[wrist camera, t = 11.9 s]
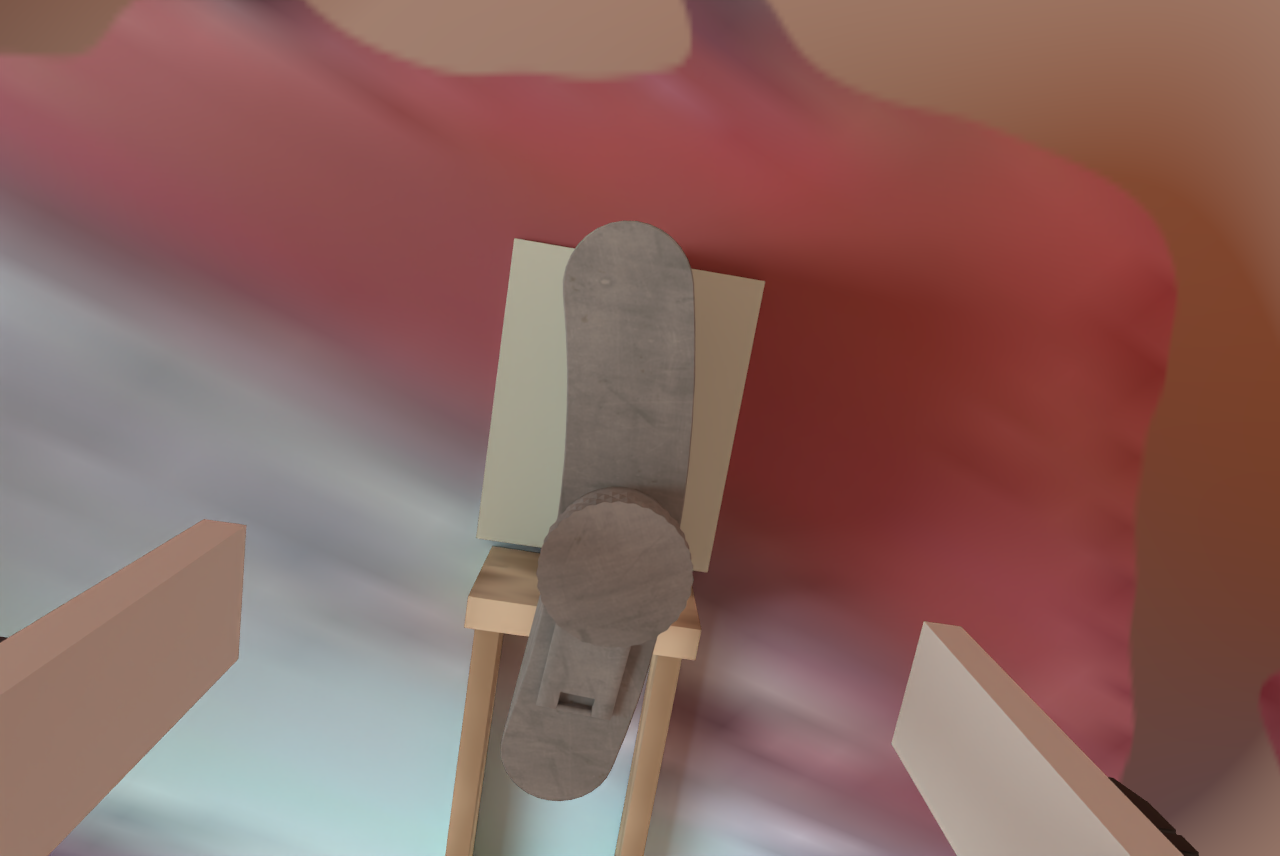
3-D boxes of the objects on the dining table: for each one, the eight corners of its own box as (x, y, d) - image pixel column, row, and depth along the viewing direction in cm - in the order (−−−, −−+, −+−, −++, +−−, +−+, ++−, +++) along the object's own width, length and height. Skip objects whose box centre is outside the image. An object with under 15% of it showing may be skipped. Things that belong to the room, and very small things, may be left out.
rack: (445, 900, 42) (416, 1001, 37) (492, 546, 38) (467, 596, 32) (622, 922, 43) (622, 1024, 37) (689, 575, 39) (701, 630, 33)
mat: (478, 534, 38) (476, 538, 37) (515, 238, 35) (514, 238, 34) (706, 568, 38) (707, 572, 38) (763, 281, 35) (765, 281, 35)
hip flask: (598, 240, 34) (563, 200, 15) (683, 254, 35) (760, 232, 15) (553, 556, 38) (476, 865, 18) (631, 567, 38) (638, 884, 18)
